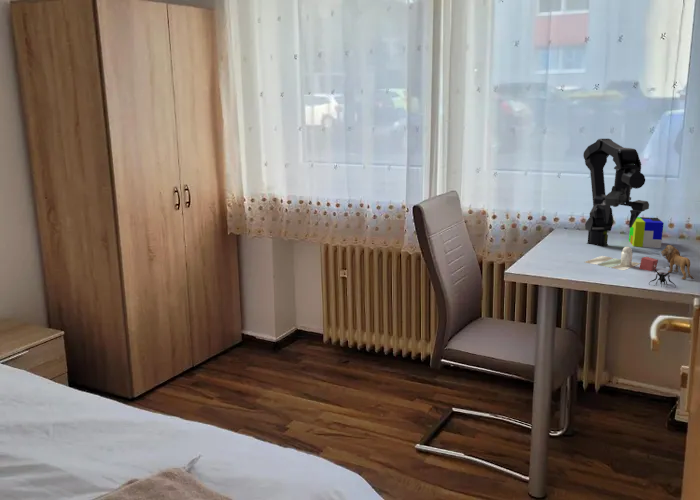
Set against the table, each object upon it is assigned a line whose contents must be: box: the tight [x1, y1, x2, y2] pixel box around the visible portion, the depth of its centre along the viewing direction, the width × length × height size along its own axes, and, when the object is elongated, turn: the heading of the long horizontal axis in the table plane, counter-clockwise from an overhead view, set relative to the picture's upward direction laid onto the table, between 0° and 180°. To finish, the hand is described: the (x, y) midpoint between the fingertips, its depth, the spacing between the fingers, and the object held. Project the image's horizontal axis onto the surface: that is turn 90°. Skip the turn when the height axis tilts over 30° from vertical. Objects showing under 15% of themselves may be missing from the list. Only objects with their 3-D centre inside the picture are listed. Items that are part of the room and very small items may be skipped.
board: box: [584, 255, 641, 271], centre depth 239 cm, size 15×14×1 cm
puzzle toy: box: [628, 216, 664, 249], centre depth 268 cm, size 10×10×10 cm
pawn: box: [620, 246, 634, 268], centre depth 234 cm, size 4×4×7 cm
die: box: [639, 256, 659, 272], centre depth 231 cm, size 4×4×4 cm
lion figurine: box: [660, 244, 695, 280], centre depth 226 cm, size 15×5×9 cm, turn 15°
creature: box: [648, 269, 677, 288], centre depth 215 cm, size 8×5×8 cm
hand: (618, 225), depth 248 cm, fingers open, 9 cm apart
